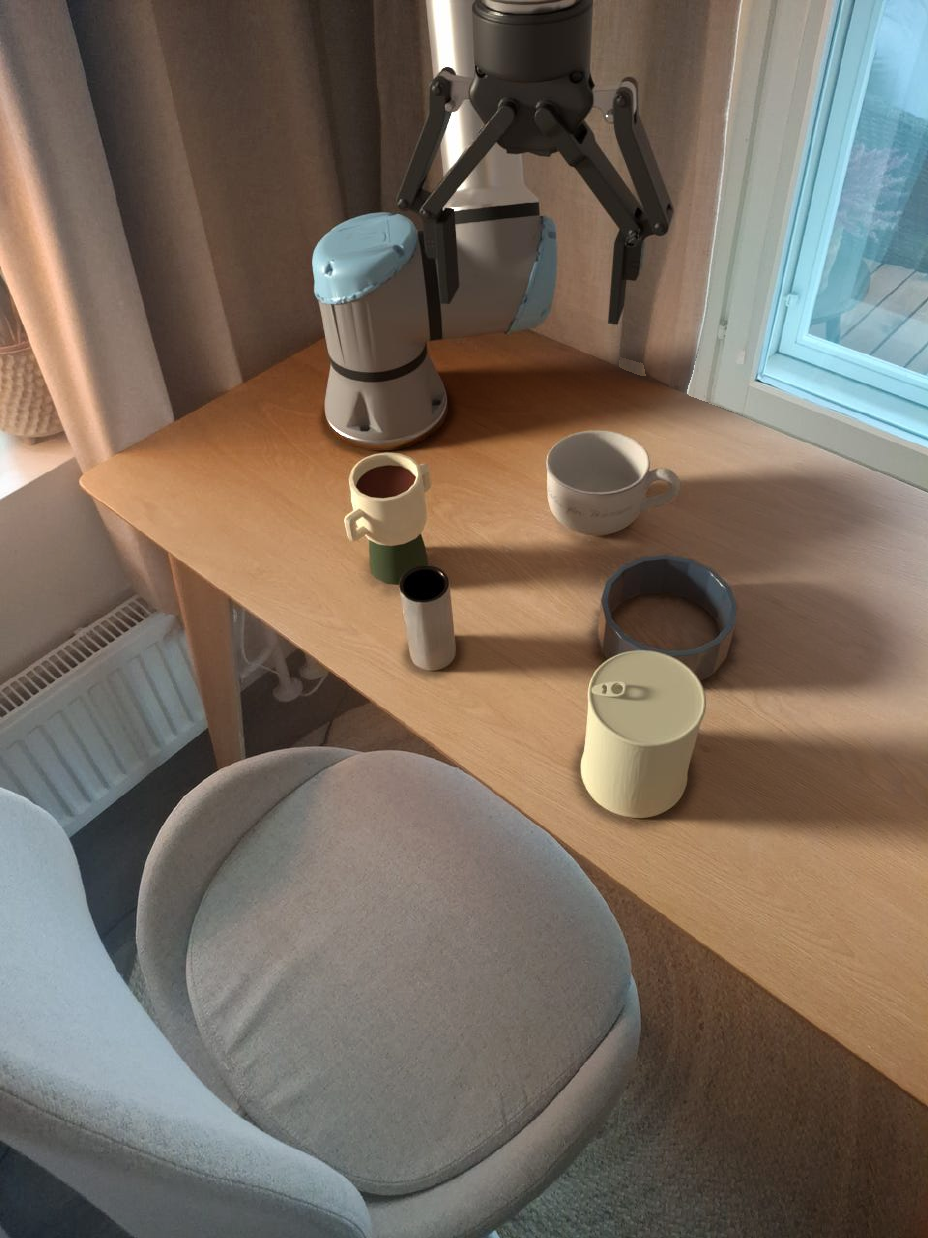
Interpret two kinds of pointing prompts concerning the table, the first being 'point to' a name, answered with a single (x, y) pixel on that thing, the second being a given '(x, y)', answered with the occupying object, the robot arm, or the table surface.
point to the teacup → (602, 482)
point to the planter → (428, 617)
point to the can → (641, 732)
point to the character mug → (389, 512)
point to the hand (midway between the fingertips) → (531, 304)
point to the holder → (676, 580)
